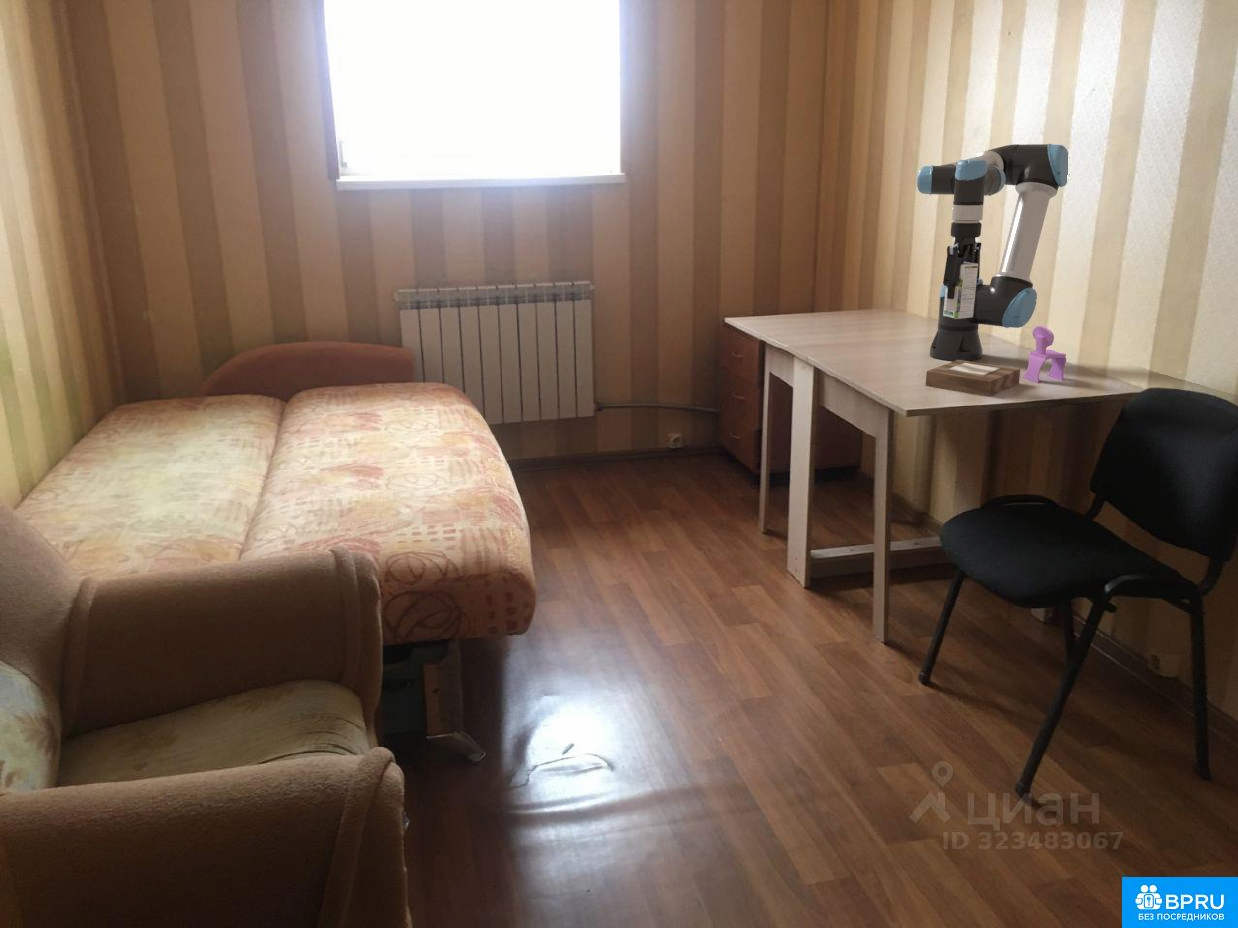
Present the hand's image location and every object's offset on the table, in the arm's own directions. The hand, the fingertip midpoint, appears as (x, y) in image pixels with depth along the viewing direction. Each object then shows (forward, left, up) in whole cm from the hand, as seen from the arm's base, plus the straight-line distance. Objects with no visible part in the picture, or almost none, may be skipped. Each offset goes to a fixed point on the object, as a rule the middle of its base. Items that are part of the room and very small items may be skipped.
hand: (958, 308), depth 271 cm
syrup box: (0, 0, -2) cm, 2 cm away
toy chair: (-19, +17, -21) cm, 33 cm away
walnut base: (-1, +5, -20) cm, 21 cm away
